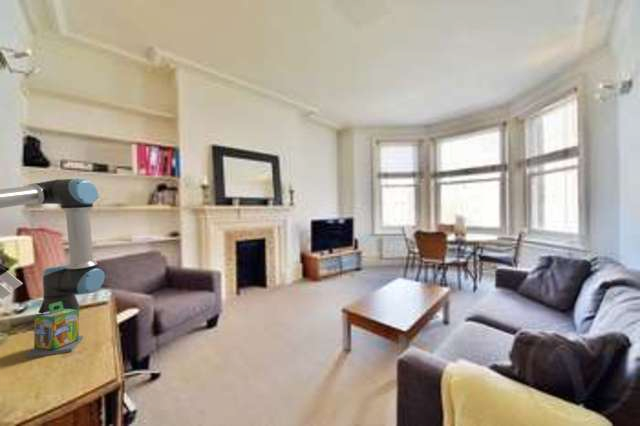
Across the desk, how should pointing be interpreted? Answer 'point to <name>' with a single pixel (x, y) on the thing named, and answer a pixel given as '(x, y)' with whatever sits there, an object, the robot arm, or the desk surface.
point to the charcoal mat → (43, 352)
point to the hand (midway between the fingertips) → (13, 290)
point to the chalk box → (56, 327)
